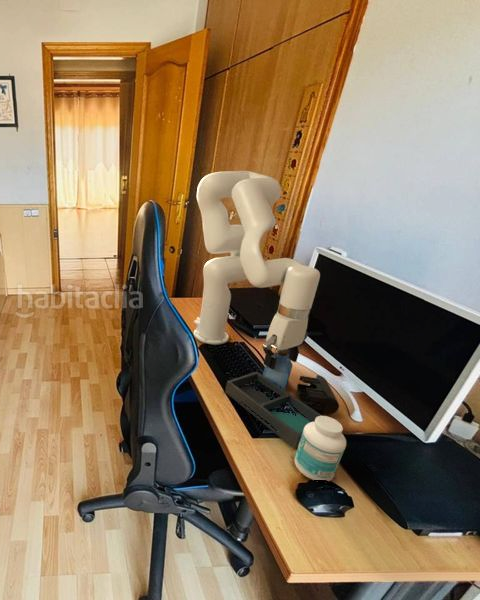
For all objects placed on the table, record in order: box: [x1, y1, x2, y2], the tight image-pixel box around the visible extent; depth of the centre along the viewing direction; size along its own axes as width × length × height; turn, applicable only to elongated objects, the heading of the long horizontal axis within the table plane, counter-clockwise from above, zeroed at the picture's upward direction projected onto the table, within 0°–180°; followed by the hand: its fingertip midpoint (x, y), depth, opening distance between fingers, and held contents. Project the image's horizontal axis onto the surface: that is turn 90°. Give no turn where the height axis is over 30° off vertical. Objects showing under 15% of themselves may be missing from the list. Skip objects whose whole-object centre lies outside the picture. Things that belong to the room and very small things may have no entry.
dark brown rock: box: [295, 374, 340, 416], centre depth 90 cm, size 10×7×7 cm
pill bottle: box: [293, 415, 347, 482], centre depth 71 cm, size 8×7×14 cm
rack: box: [224, 371, 322, 450], centre depth 89 cm, size 22×12×4 cm, turn 21°
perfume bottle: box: [262, 349, 294, 391], centre depth 98 cm, size 6×6×12 cm
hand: (279, 362), depth 97 cm, fingers open, 8 cm apart
